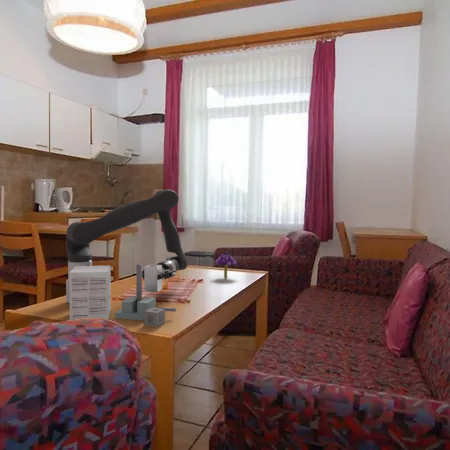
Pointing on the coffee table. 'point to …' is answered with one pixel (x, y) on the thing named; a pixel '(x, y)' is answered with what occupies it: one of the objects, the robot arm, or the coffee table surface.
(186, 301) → the coffee table surface
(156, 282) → the steel sleeve
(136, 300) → the vise
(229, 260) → the decorative mushroom
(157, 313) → the dice cube
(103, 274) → the supplement box
